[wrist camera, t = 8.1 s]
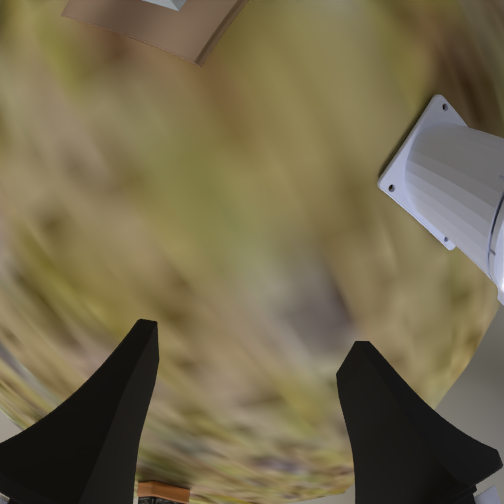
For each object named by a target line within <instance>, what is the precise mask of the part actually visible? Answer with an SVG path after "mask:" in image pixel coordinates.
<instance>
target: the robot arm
mask: <svg viewBox="0 0 504 504" xmlns="http://www.w3.org/2000/svg"><path fill="white" fill-rule="evenodd" d="M443 104H444V106H445V108H444V110H443V107H442V106H443ZM390 185H393V187H392V189H391V190H388V188H389V186H390ZM378 187H379V188H380V189H381V190H383V191H384V192H385V193H386V194H387V195H389V196H390V197H391V198H392V199H393V200H395V201H396V202H397V203H398V204H399V205H401V206H402V207H403V208H404V209H405V210H406V211H407V212H409V213H410V214H411V215H412V216H413V217H414V218H415V219H417V220H418V221H419V222H420V223H421V224H422V225H423V226H424V227H425V228H426V229H428V230H429V231H430V232H431V233H432V234H433V235H434V236H435V237H436V238H437V239H438V240H439V241H440V242H441V243H442V244H443V245H444V246H445V247H446V248H447V249H448V250H452V249H454V248H455V246H457V247H458V248H459V249H460V250H461V251H462V252H463V253H465V254H466V255H467V256H468V257H469V258H470V259H471V260H472V261H473V262H474V263H475V264H476V265H477V266H478V267H479V268H480V269H481V270H482V271H483V272H484V273H485V274H486V275H487V276H488V277H489V278H490V279H491V280H492V281H493V282H494V283H495V284H496V286H497V287H498V300H499V301H500V302H501V303H502V304H503V306H504V138H501V137H498V136H495V135H492V134H489V133H486V132H483V131H479V130H476V129H473V128H469V127H468V126H467V125H466V123H465V122H464V121H463V120H462V118H461V117H460V116H459V115H458V113H457V112H456V111H455V110H454V108H453V107H452V106H451V105H450V104H449V103H448V101H447V100H446V99H445V98H444V97H443V96H442V95H434V96H433V98H432V99H431V101H430V103H429V104H428V106H427V107H426V109H425V111H424V112H423V114H422V115H421V117H420V118H419V120H418V121H417V123H416V125H415V126H414V128H413V129H412V131H411V132H410V134H409V135H408V137H407V138H406V140H405V141H404V143H403V144H402V146H401V147H400V149H399V150H398V152H397V153H396V155H395V156H394V158H393V159H392V160H391V162H390V163H389V165H388V166H387V168H386V169H385V171H384V172H383V173H382V175H381V176H380V178H379V180H378ZM445 237H446V238H445ZM444 238H445V239H444ZM158 364H159V347H158V327H157V321H151V320H145V319H139V320H138V321H137V322H136V323H135V325H134V326H133V327H132V329H131V330H130V331H129V333H128V334H127V335H126V337H125V338H124V339H123V340H122V342H121V343H120V344H119V345H118V347H117V348H116V349H115V350H114V351H113V353H112V354H111V355H110V356H109V357H108V358H107V360H106V361H105V362H104V363H103V364H102V365H101V366H100V367H99V369H98V370H97V371H96V372H95V373H94V374H93V375H92V376H91V377H90V378H89V379H88V380H87V381H86V382H85V383H84V384H83V385H82V386H81V387H80V388H79V389H78V390H77V391H76V392H75V393H73V394H72V395H71V396H70V397H69V398H68V399H67V400H66V401H64V402H63V403H62V404H61V405H59V406H58V407H57V408H56V409H54V410H53V411H52V412H51V413H49V414H48V415H47V416H45V417H44V418H42V419H41V420H39V421H38V422H36V423H35V424H33V425H32V426H30V427H29V428H27V429H26V430H24V431H22V432H21V433H19V434H17V435H15V436H14V437H11V438H9V439H8V440H6V441H4V442H2V443H0V492H1V493H2V494H4V495H5V496H7V497H9V498H10V499H8V498H6V497H4V496H2V495H0V504H133V496H134V482H135V472H136V462H137V455H138V447H139V441H140V437H141V432H142V429H143V425H144V421H145V418H146V414H147V410H148V407H149V403H150V400H151V396H152V393H153V389H154V386H155V381H156V375H157V370H158ZM336 378H337V387H338V394H339V399H340V404H341V407H342V411H343V415H344V419H345V423H346V427H347V431H348V435H349V439H350V443H351V448H352V453H353V462H354V473H355V504H501V503H500V499H499V496H498V493H497V490H496V487H495V485H493V486H491V487H490V488H488V489H486V490H484V491H483V492H481V493H480V494H478V495H476V496H475V497H474V496H473V493H474V492H476V491H477V488H476V484H478V483H479V482H481V481H483V480H484V479H486V478H487V477H489V476H490V475H492V474H493V473H495V472H496V471H498V470H499V469H501V468H502V466H503V464H502V461H501V458H500V456H499V453H498V451H497V450H496V449H494V448H492V447H490V446H487V445H485V444H483V443H481V442H479V441H477V440H475V439H473V438H472V437H470V436H468V435H466V434H465V433H463V432H462V431H460V430H459V429H457V428H456V427H454V426H453V425H452V424H450V423H449V422H448V421H446V420H445V419H444V418H442V417H441V416H440V415H439V414H438V413H437V412H435V411H434V410H433V409H432V408H431V407H430V406H429V405H427V404H426V403H425V402H424V401H423V400H422V399H421V398H420V397H419V396H418V395H417V394H416V393H415V392H414V391H413V390H412V389H411V387H410V386H409V385H408V384H407V383H406V382H405V381H404V380H403V379H402V378H401V376H400V375H399V374H398V373H397V372H396V371H395V370H394V369H393V367H392V366H391V365H390V364H389V363H388V362H387V360H386V359H385V358H384V357H383V356H382V355H381V354H380V353H379V351H378V350H377V349H376V348H375V347H374V346H373V345H372V344H371V343H370V342H369V341H355V343H354V344H353V346H352V348H351V350H350V351H349V353H348V355H347V357H346V358H345V360H344V362H343V363H342V365H341V367H340V368H339V370H338V372H337V373H336Z"/></svg>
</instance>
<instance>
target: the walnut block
mask: <svg viewBox="0 0 504 504" xmlns="http://www.w3.org/2000/svg"><path fill="white" fill-rule="evenodd" d="M247 2H248V0H186V2H185V3H184V5H183V6H182V8H181V9H180V11H176V10H173V9H170V8H167V7H164V6H161V5H157V4H154V3H150V2H147V1H143V0H69V2H68V4H67V5H66V7H65V9H64V11H63V12H62V14H61V16H64V17H67V18H70V19H73V20H76V21H79V22H82V23H86V24H89V25H93V26H96V27H99V28H103V29H106V30H109V31H112V32H115V33H118V34H121V35H124V36H127V37H130V38H133V39H135V40H138V41H141V42H143V43H146V44H149V45H151V46H154V47H156V48H159V49H161V50H164V51H166V52H168V53H171V54H173V55H175V56H178V57H180V58H182V59H184V60H187V61H189V62H191V63H193V64H195V65H197V66H199V67H202V65H203V63H204V62H205V60H206V59H207V57H208V56H209V54H210V53H211V51H212V50H213V48H214V47H215V45H216V44H217V42H218V41H219V39H220V38H221V37H222V35H223V34H224V32H225V31H226V29H227V28H228V27H229V25H230V24H231V23H232V21H233V20H234V19H235V17H236V16H237V15H238V13H239V12H240V11H241V9H242V8H243V7H244V5H245V4H246V3H247Z"/></svg>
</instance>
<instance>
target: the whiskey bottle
mask: <svg viewBox="0 0 504 504" xmlns="http://www.w3.org/2000/svg"><path fill="white" fill-rule="evenodd" d="M137 496H138V497H139V499H138V504H188V503H189V497H190V490H188V489H184V488H180V487H176V486H172V485H168V484H165V483H161V482H158V481H147V482H141V483H138V490H137Z"/></svg>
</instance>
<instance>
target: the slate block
mask: <svg viewBox="0 0 504 504" xmlns="http://www.w3.org/2000/svg"><path fill="white" fill-rule="evenodd" d="M143 1H147V2H150V3H154V4H157V5H161V6H164V7H167V8H170V9H173V10H176V11H180V9H181V8H182V6H183V5H184V3H185V2H186V0H143Z"/></svg>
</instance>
